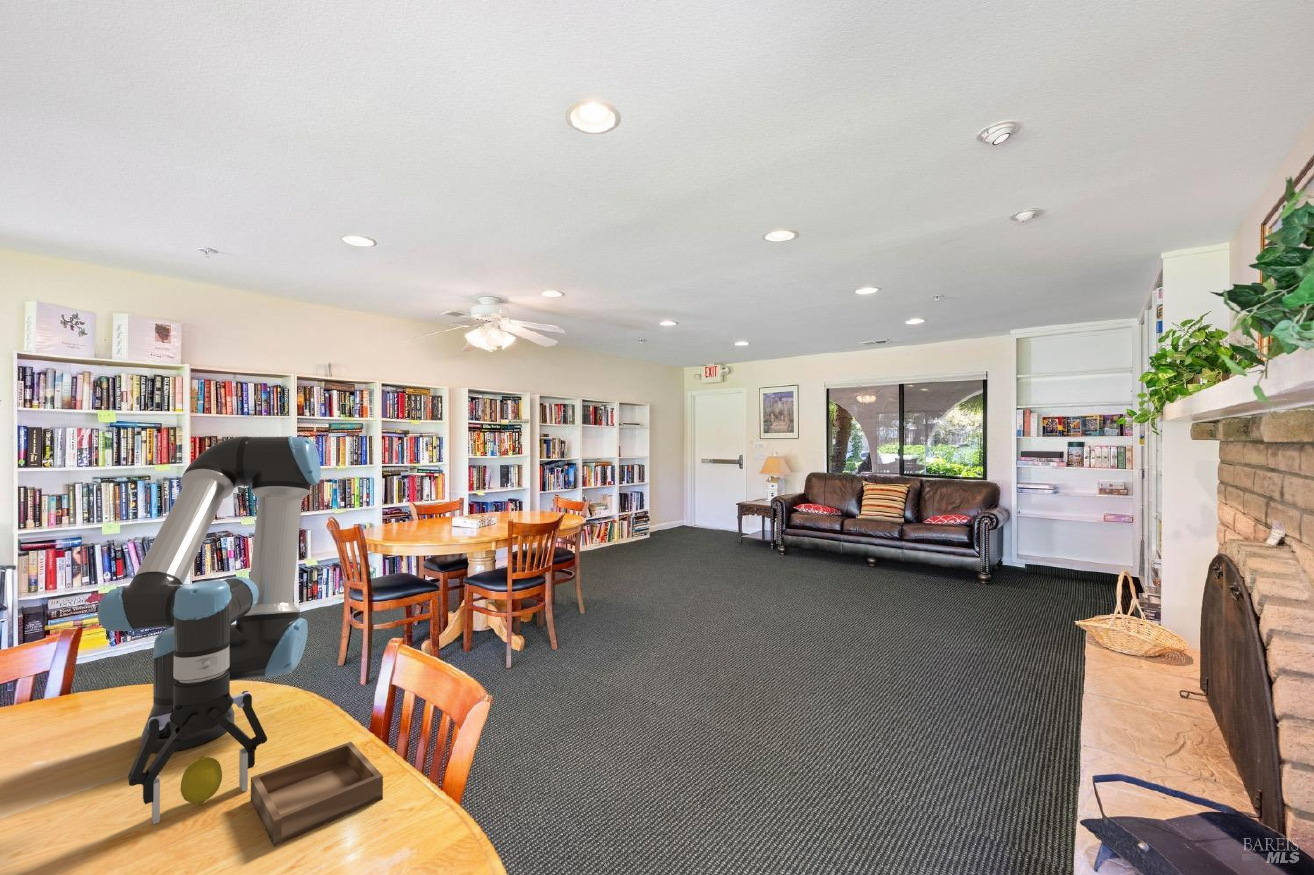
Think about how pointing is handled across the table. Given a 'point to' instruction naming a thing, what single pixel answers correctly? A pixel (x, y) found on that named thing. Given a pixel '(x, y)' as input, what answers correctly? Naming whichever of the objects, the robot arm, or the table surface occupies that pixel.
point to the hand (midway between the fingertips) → (201, 802)
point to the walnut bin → (314, 791)
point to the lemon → (201, 780)
